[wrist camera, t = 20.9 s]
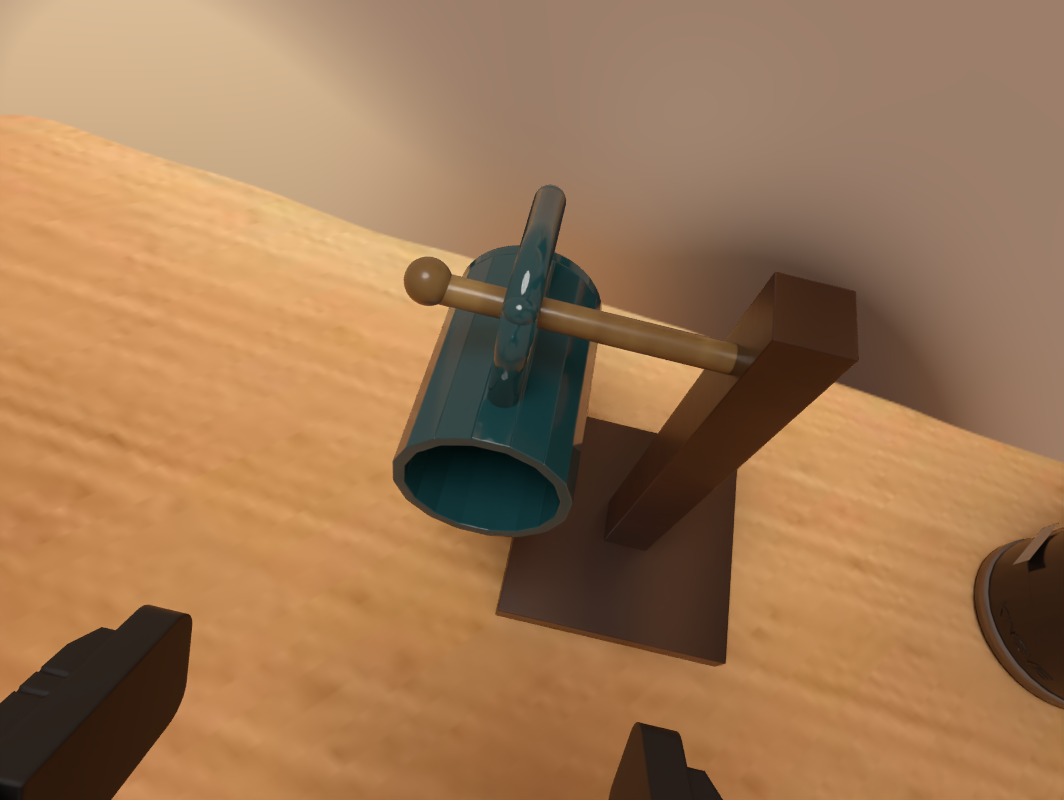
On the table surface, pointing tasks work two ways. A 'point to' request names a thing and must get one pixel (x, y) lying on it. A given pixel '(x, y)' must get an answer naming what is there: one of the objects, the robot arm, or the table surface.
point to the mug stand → (664, 464)
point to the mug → (504, 396)
